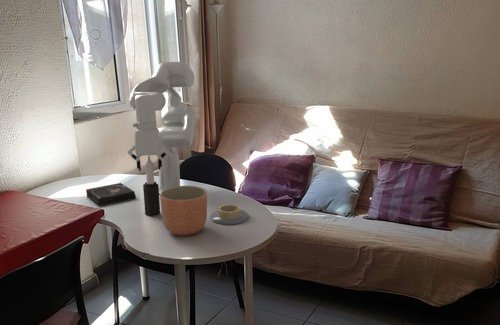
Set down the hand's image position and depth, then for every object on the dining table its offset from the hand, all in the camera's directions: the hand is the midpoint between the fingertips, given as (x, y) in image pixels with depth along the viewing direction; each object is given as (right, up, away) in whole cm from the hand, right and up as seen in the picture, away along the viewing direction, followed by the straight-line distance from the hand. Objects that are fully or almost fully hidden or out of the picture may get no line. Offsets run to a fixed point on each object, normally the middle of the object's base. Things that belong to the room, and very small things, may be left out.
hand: (149, 169), depth 179 cm
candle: (0, -19, +5) cm, 19 cm away
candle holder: (+32, -20, 0) cm, 38 cm away
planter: (+16, -23, -12) cm, 31 cm away
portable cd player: (-23, -14, +26) cm, 37 cm away
